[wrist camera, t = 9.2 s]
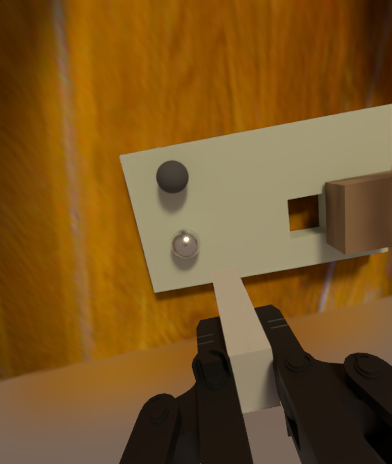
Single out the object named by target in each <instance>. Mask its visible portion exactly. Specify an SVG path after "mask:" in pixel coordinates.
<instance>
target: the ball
mask: <svg viewBox="0 0 392 464" xmlns="http://www.w3.org/2000/svg"><path fill="white" fill-rule="evenodd" d="M200 247H201V240H200V237H199V235H198V234H197V233H196V232H195V231H194V230H192V229H189V228H183V229H180V230H178V231H177V232H175V233H174V235H173V236H172V239H171V248H172V250H173V252H174V253H175V254H176V255H177V256H179V257H181V258H191V257H193V256H194V255H196V254H197V253H198V251H199V249H200Z"/></svg>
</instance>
